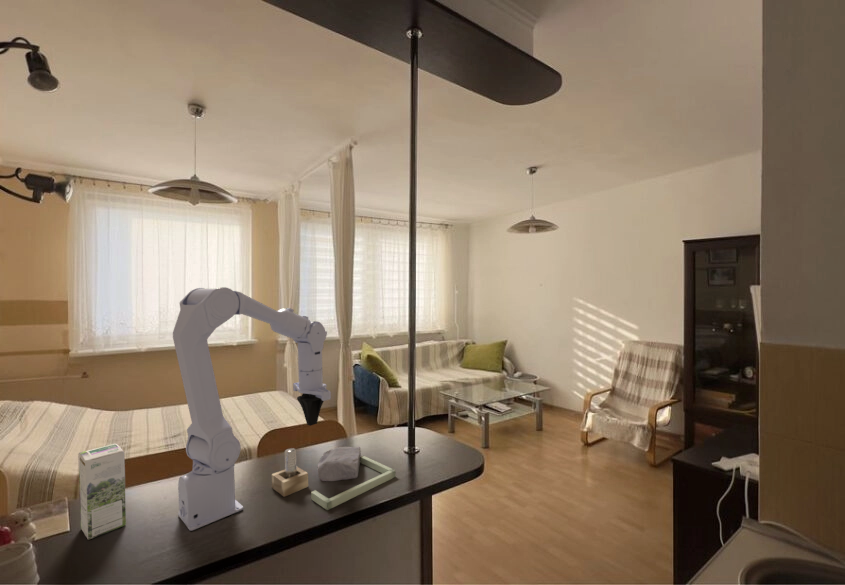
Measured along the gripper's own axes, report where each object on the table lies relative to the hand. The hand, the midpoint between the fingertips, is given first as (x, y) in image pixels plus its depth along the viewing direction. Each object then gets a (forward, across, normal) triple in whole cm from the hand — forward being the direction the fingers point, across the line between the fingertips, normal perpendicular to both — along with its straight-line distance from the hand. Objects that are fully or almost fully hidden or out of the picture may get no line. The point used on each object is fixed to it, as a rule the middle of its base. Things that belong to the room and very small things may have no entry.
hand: (312, 424), depth 98 cm
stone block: (+10, -7, -3) cm, 13 cm away
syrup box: (+10, +6, +40) cm, 42 cm away
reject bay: (+10, -14, 0) cm, 17 cm away
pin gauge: (+10, -6, +9) cm, 15 cm away
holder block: (+10, -6, +10) cm, 15 cm away
